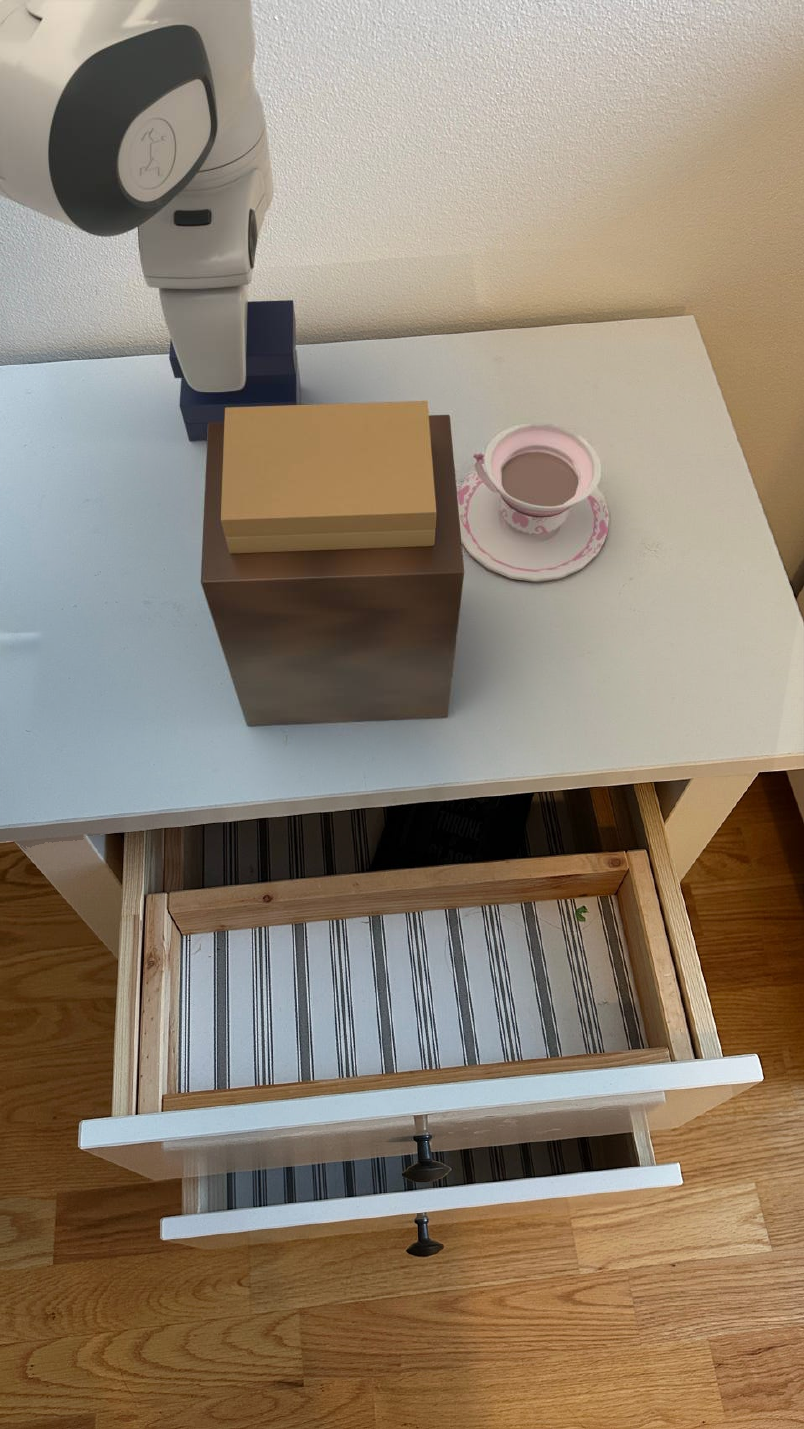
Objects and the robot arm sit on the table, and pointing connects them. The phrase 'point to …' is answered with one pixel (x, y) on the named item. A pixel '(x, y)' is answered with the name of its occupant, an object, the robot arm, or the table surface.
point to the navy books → (236, 400)
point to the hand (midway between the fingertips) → (233, 342)
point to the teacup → (534, 504)
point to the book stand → (338, 614)
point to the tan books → (328, 477)
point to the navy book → (264, 340)
